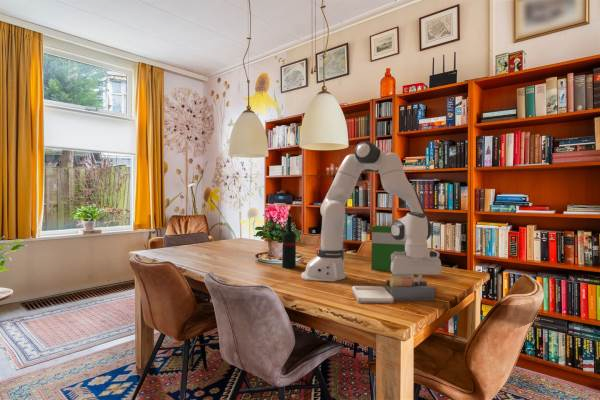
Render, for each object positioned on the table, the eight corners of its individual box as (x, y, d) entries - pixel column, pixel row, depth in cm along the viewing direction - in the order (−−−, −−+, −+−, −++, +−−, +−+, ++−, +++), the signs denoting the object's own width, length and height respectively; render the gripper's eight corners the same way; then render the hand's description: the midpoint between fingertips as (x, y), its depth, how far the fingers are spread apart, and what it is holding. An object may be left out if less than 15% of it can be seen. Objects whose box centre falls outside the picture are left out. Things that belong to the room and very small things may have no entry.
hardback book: (404, 269, 189) (405, 226, 189) (404, 272, 182) (405, 227, 181) (372, 266, 194) (372, 225, 193) (371, 269, 187) (372, 226, 186)
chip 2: (402, 288, 138) (402, 278, 138) (399, 285, 142) (399, 276, 142) (411, 288, 138) (412, 279, 138) (408, 285, 142) (408, 276, 142)
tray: (358, 302, 132) (358, 297, 132) (352, 290, 148) (352, 286, 148) (393, 303, 132) (393, 298, 132) (383, 290, 148) (383, 286, 148)
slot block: (392, 300, 135) (392, 286, 135) (385, 292, 145) (386, 280, 145) (434, 301, 135) (434, 287, 135) (425, 293, 145) (425, 280, 145)
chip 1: (392, 288, 138) (392, 278, 138) (389, 285, 142) (389, 276, 142) (402, 288, 138) (402, 278, 138) (399, 285, 142) (399, 276, 142)
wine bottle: (298, 265, 197) (299, 213, 196) (293, 268, 187) (294, 215, 186) (285, 264, 199) (286, 213, 198) (280, 267, 189) (280, 214, 188)
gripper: (393, 252, 136) (392, 286, 137) (443, 253, 136) (442, 287, 137) (388, 250, 143) (388, 282, 143) (437, 250, 143) (436, 282, 143)
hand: (415, 284), depth 140 cm, fingers closed
